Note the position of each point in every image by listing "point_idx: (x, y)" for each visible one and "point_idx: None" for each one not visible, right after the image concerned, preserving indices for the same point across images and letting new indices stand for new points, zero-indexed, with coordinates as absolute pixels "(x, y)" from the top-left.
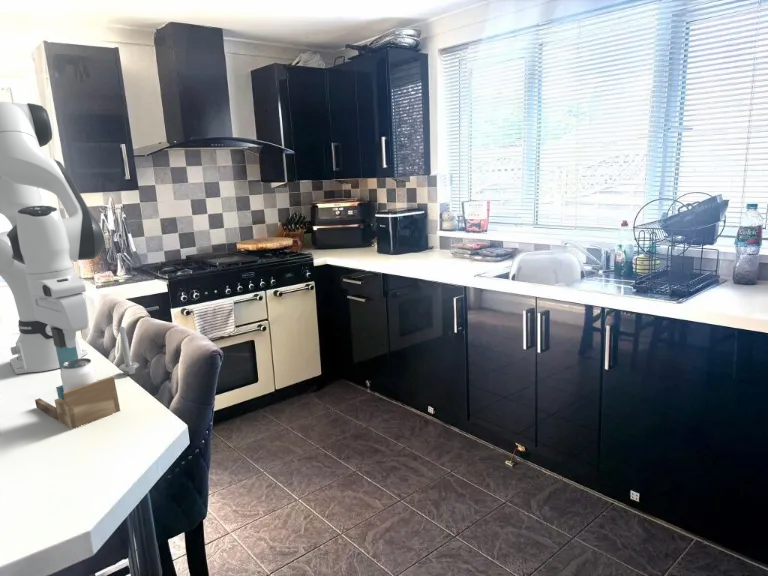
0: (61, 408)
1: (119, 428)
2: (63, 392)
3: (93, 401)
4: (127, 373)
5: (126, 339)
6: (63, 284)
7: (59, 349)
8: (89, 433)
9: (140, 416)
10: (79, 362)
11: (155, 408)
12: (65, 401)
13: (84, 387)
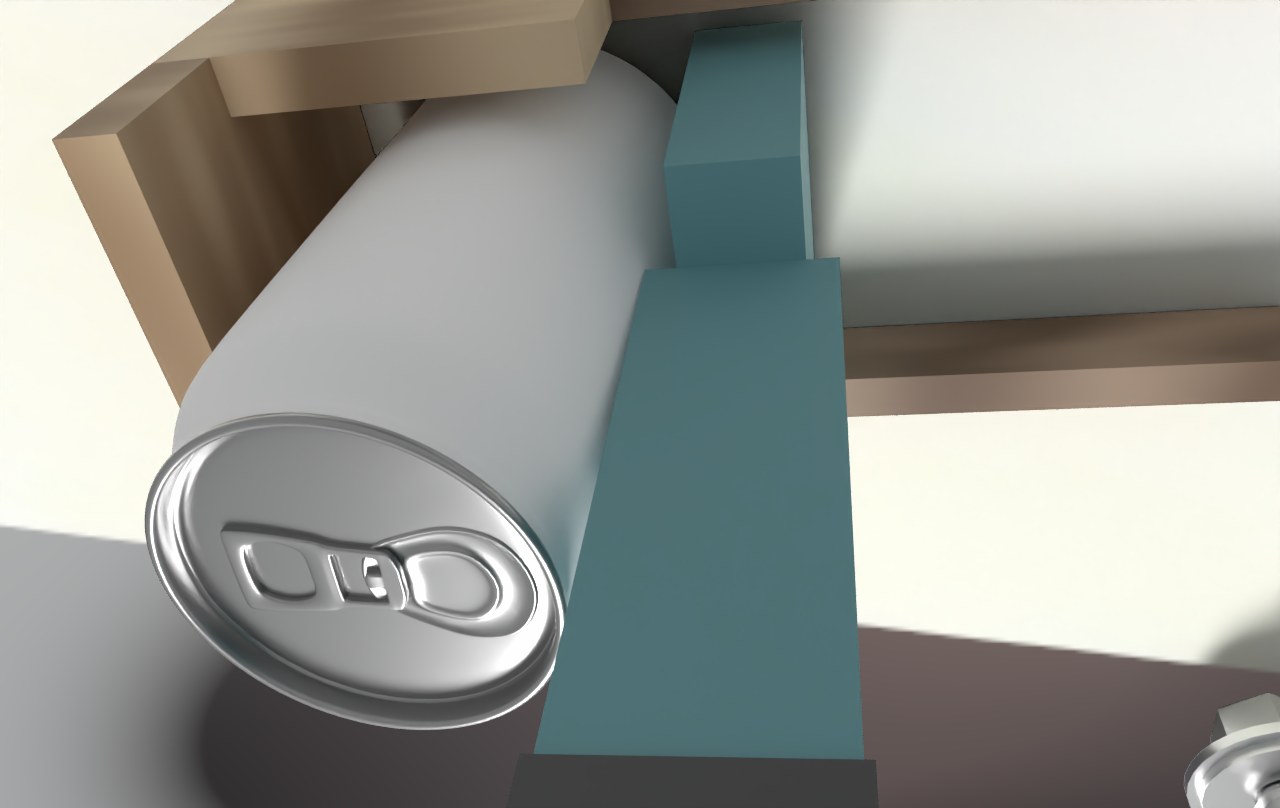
0: (397, 14)
1: (21, 255)
2: (110, 139)
3: None
4: (1245, 712)
5: None
6: None
7: (632, 713)
8: (63, 58)
9: (168, 426)
10: (427, 624)
11: None
12: (155, 85)
13: (163, 359)
